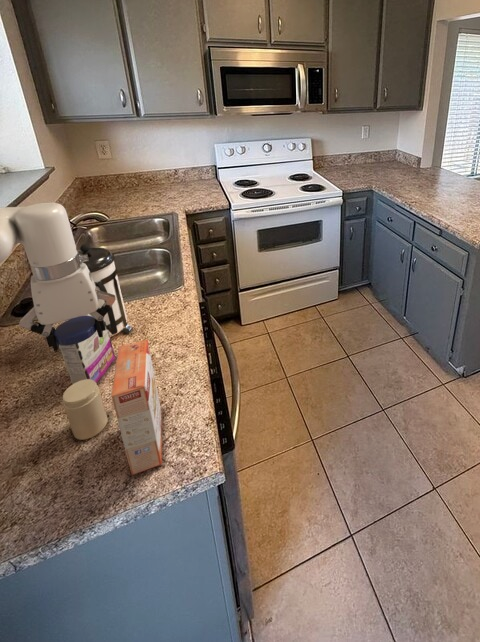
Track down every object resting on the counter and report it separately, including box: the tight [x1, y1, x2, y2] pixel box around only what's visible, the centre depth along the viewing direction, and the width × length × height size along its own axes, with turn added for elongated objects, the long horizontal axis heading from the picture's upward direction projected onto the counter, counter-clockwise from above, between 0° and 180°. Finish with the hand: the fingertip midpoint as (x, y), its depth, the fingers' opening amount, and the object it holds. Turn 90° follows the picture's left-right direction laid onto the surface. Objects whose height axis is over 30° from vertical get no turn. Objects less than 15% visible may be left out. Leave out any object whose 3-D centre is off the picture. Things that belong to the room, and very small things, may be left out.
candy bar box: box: [59, 314, 117, 385], centre depth 91 cm, size 11×5×16 cm, turn 0°
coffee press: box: [77, 243, 133, 338], centre depth 104 cm, size 17×16×30 cm
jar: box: [62, 379, 109, 441], centre depth 78 cm, size 7×7×11 cm
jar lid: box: [54, 316, 97, 345], centre depth 74 cm, size 7×7×2 cm
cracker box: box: [110, 339, 163, 476], centre depth 73 cm, size 14×6×21 cm, turn 23°
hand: (79, 339), depth 75 cm, fingers closed on jar lid, 7 cm apart
